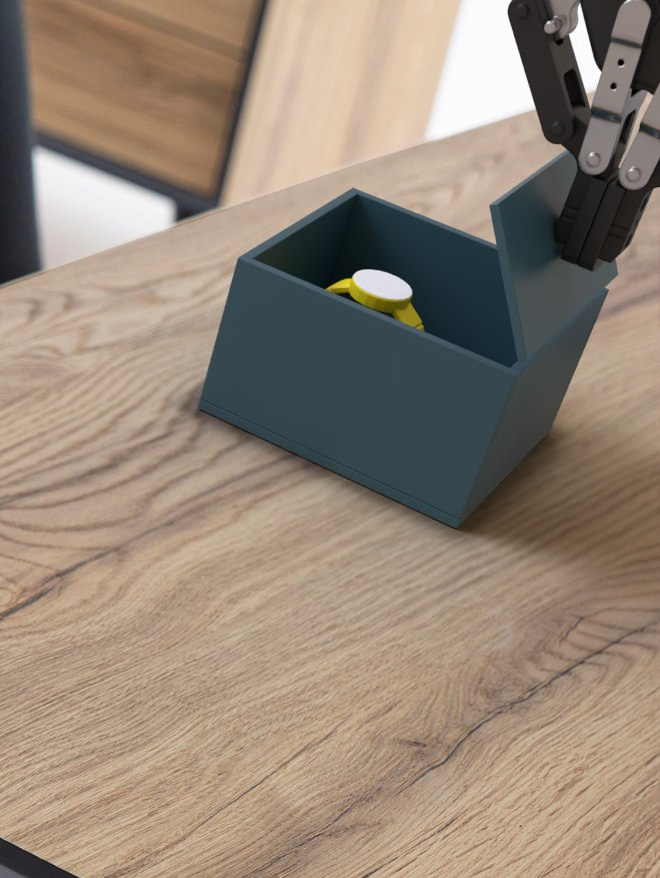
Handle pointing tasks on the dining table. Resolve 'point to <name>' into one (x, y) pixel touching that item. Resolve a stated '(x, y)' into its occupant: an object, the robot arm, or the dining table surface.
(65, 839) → the dining table surface
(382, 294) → the watch
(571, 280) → the flap
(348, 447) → the carton
